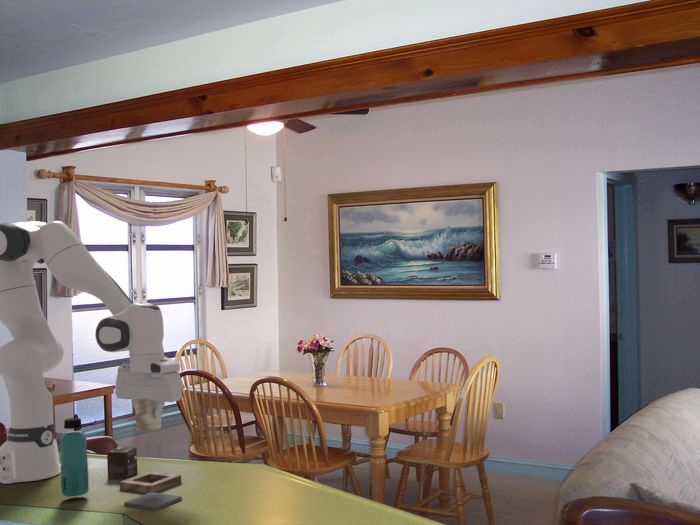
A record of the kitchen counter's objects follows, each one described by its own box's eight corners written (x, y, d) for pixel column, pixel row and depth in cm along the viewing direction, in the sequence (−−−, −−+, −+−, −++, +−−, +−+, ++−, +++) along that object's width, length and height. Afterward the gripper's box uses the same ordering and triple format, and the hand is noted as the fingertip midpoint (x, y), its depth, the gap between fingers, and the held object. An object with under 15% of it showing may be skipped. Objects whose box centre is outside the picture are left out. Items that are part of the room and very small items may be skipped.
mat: (124, 505, 181) (124, 502, 181) (150, 495, 189) (150, 492, 189) (155, 510, 176) (155, 507, 176) (181, 499, 184) (181, 496, 184)
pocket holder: (119, 489, 195) (119, 481, 195) (149, 478, 205) (149, 471, 205) (152, 494, 190) (151, 486, 190) (181, 482, 199) (181, 475, 199)
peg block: (136, 430, 197) (135, 399, 197) (148, 427, 201) (147, 396, 201) (149, 431, 194) (148, 400, 195) (161, 428, 198) (160, 397, 199)
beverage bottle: (95, 496, 189) (92, 416, 190) (75, 504, 183) (72, 421, 184) (75, 494, 192) (73, 415, 193) (55, 501, 186) (52, 420, 187)
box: (127, 479, 205) (126, 452, 205) (107, 479, 206) (106, 452, 206) (138, 473, 211) (137, 447, 211) (118, 473, 212) (117, 447, 212)
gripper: (109, 364, 200) (110, 416, 200) (168, 367, 190) (169, 422, 190) (126, 361, 205) (127, 412, 205) (184, 364, 196) (186, 417, 196)
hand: (148, 417), depth 198 cm, fingers closed on peg block, 4 cm apart
